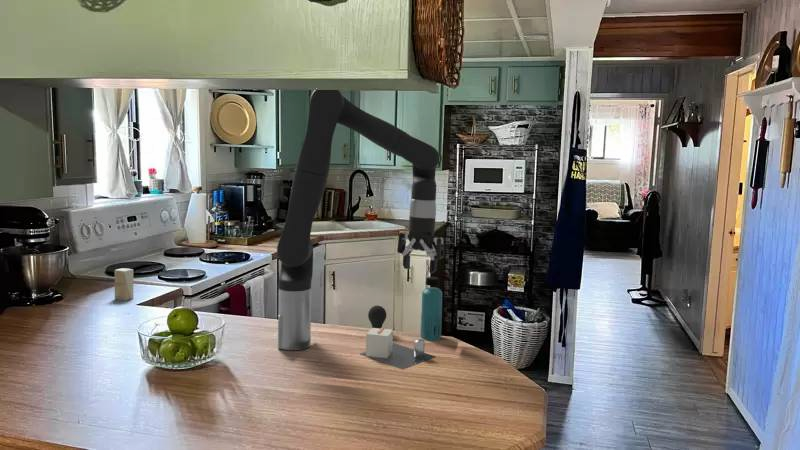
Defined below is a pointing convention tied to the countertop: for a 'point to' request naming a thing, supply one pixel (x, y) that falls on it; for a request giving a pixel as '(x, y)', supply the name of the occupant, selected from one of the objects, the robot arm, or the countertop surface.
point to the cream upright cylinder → (123, 284)
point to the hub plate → (405, 355)
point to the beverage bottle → (431, 311)
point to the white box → (379, 342)
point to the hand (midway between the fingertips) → (419, 270)
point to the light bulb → (377, 316)
